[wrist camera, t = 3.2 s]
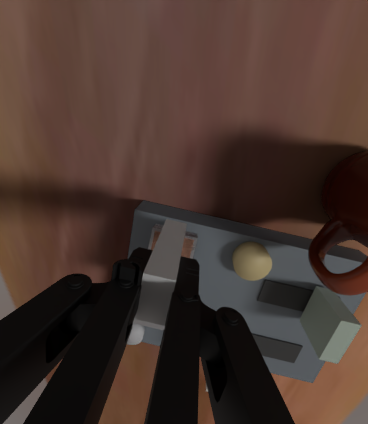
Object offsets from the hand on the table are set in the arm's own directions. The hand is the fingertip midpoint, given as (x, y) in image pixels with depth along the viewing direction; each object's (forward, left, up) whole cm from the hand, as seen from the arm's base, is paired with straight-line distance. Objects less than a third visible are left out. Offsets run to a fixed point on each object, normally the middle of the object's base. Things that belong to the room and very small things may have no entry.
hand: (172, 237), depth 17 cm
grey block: (+5, +14, -3) cm, 15 cm away
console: (+8, +7, -7) cm, 12 cm away
